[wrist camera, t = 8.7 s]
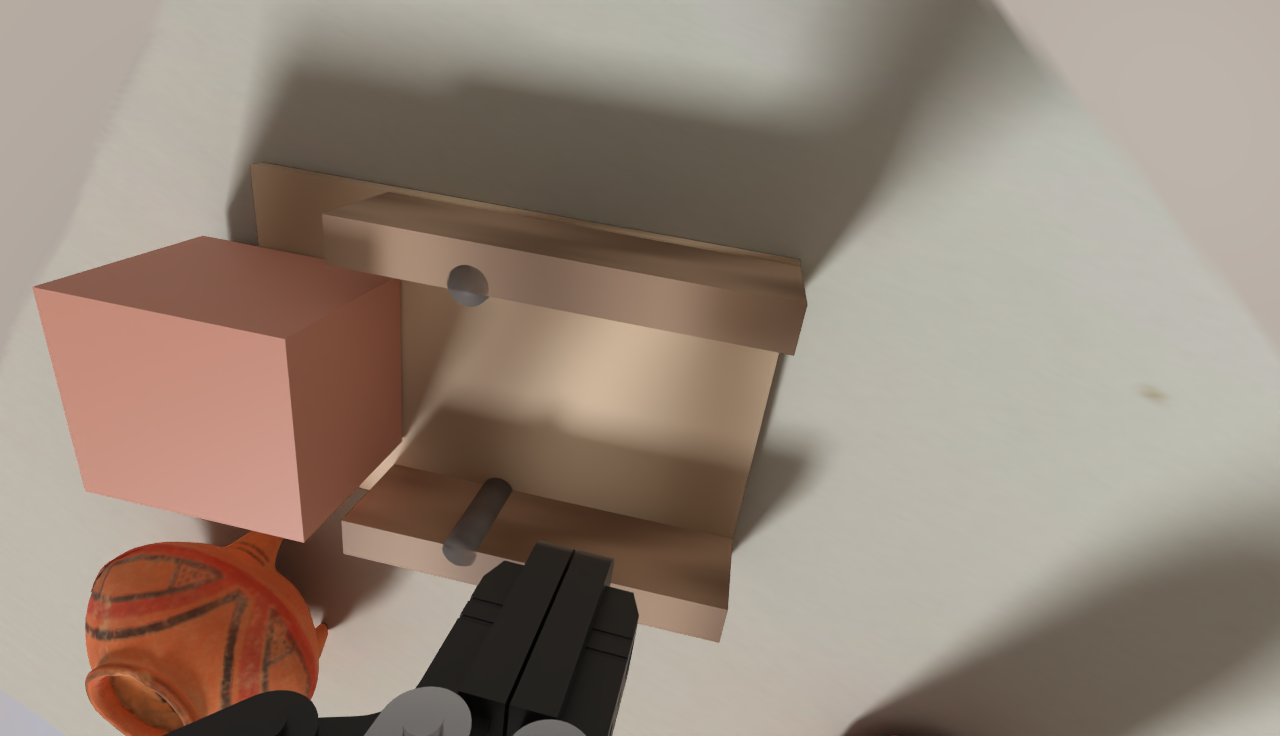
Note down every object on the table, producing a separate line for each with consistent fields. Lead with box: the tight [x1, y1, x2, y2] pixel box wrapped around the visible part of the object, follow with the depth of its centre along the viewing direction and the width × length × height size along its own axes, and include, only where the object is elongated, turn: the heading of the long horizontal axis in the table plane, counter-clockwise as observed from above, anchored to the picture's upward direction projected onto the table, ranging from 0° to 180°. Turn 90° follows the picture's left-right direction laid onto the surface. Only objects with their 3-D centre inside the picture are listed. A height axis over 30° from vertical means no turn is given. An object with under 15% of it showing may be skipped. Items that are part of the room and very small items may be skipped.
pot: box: [85, 531, 328, 736], centre depth 23 cm, size 8×8×7 cm
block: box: [33, 236, 402, 543], centre depth 18 cm, size 6×6×5 cm
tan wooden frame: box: [250, 163, 807, 643], centre depth 19 cm, size 15×10×4 cm, turn 82°
